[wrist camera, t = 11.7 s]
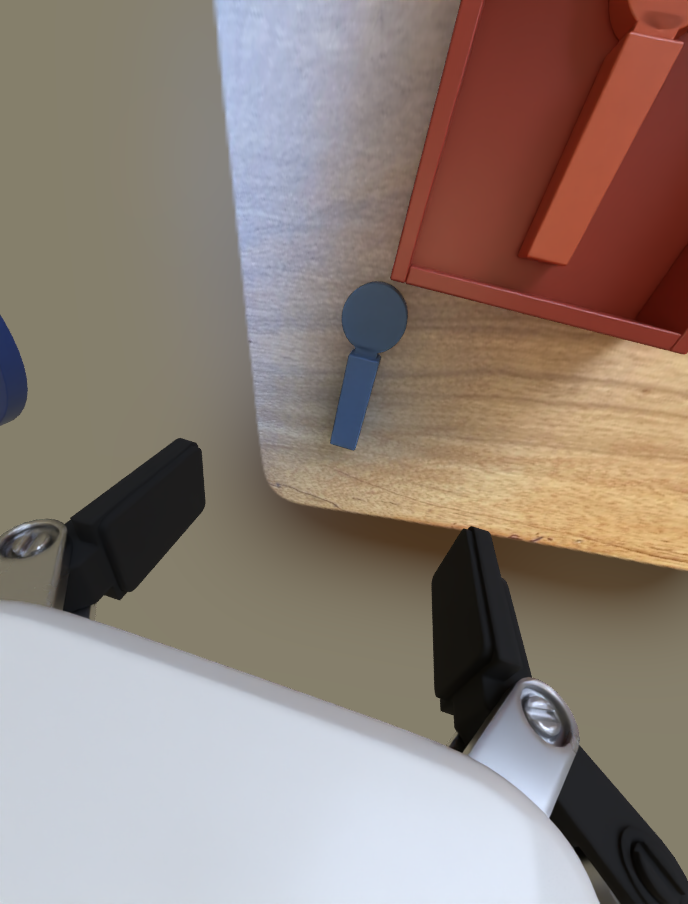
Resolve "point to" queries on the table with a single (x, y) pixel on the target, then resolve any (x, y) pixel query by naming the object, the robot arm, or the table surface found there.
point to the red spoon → (607, 123)
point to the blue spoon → (366, 352)
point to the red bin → (548, 178)
